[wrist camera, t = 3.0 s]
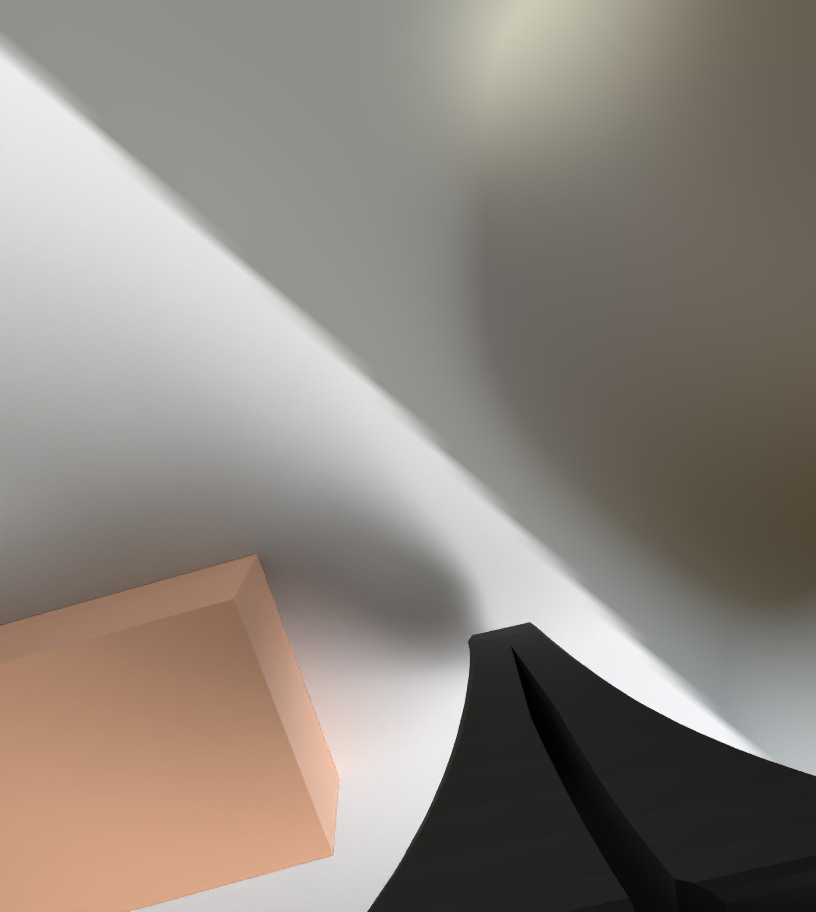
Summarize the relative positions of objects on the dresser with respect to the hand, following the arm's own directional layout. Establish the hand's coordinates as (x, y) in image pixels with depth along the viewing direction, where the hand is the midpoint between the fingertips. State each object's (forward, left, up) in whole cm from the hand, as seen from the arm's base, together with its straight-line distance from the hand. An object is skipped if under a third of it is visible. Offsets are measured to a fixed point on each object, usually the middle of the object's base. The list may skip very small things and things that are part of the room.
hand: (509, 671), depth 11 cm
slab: (+8, 0, -2) cm, 9 cm away
